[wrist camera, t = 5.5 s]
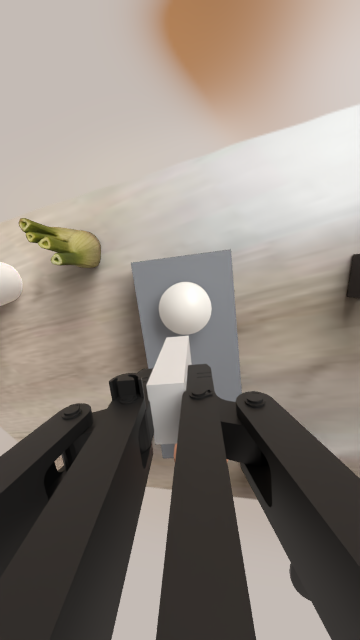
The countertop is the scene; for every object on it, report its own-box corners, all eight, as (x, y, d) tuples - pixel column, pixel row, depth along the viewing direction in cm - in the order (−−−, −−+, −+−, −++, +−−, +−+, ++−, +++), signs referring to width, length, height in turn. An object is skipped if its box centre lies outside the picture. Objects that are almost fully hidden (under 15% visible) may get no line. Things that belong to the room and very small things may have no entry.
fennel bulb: (109, 265, 35) (66, 263, 23) (80, 273, 35) (23, 275, 24) (98, 226, 34) (46, 203, 22) (67, 235, 34) (1, 217, 23)
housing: (223, 253, 33) (230, 249, 26) (237, 421, 39) (246, 453, 32) (143, 264, 34) (130, 262, 28) (168, 426, 40) (162, 458, 33)
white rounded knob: (205, 277, 33) (208, 279, 25) (209, 317, 34) (214, 331, 26) (165, 282, 34) (155, 285, 25) (170, 321, 35) (162, 337, 27)
